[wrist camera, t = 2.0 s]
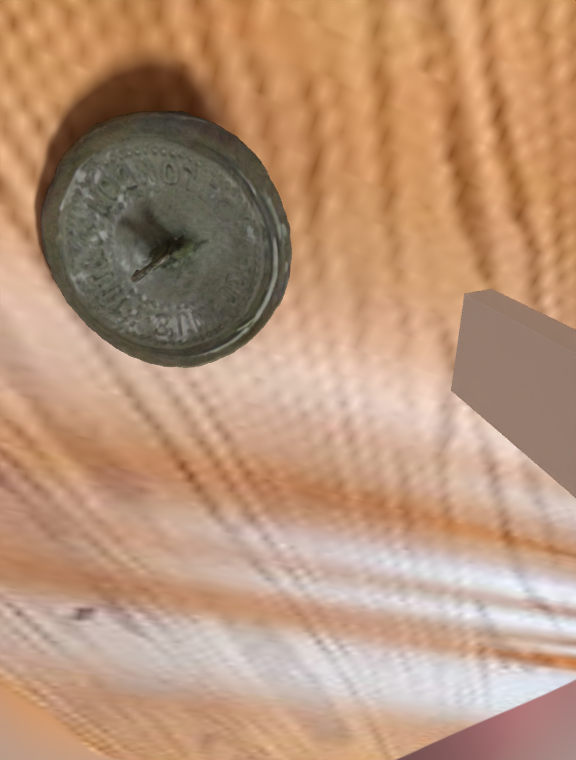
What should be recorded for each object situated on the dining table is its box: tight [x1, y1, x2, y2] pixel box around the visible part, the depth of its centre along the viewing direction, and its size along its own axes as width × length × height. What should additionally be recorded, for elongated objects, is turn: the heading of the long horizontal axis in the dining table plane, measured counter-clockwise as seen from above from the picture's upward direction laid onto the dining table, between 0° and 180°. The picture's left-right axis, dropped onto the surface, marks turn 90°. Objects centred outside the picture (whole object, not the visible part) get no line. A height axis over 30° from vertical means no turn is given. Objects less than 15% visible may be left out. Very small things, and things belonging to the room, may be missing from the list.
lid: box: [41, 111, 292, 368], centre depth 20 cm, size 11×10×5 cm
